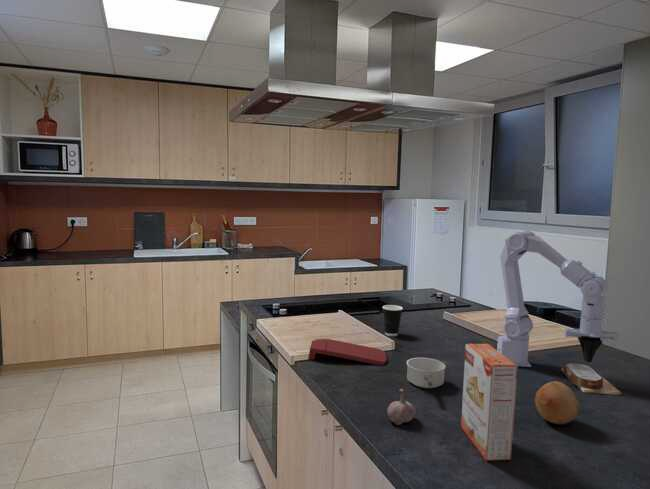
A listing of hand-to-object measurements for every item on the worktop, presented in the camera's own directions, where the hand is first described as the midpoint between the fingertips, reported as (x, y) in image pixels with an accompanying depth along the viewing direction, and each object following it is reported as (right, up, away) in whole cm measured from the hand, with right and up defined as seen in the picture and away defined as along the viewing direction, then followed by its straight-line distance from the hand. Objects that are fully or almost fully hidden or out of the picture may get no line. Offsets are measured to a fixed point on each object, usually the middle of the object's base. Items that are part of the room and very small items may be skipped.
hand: (587, 361), depth 140 cm
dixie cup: (-53, -1, +43) cm, 69 cm away
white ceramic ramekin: (-51, -6, -8) cm, 52 cm away
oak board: (+1, -7, +1) cm, 7 cm away
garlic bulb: (-61, -8, -27) cm, 67 cm away
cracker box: (-44, -9, -37) cm, 58 cm away
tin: (-6, -4, +1) cm, 7 cm away
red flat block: (-72, -3, +16) cm, 74 cm away
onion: (-23, -9, -26) cm, 35 cm away
